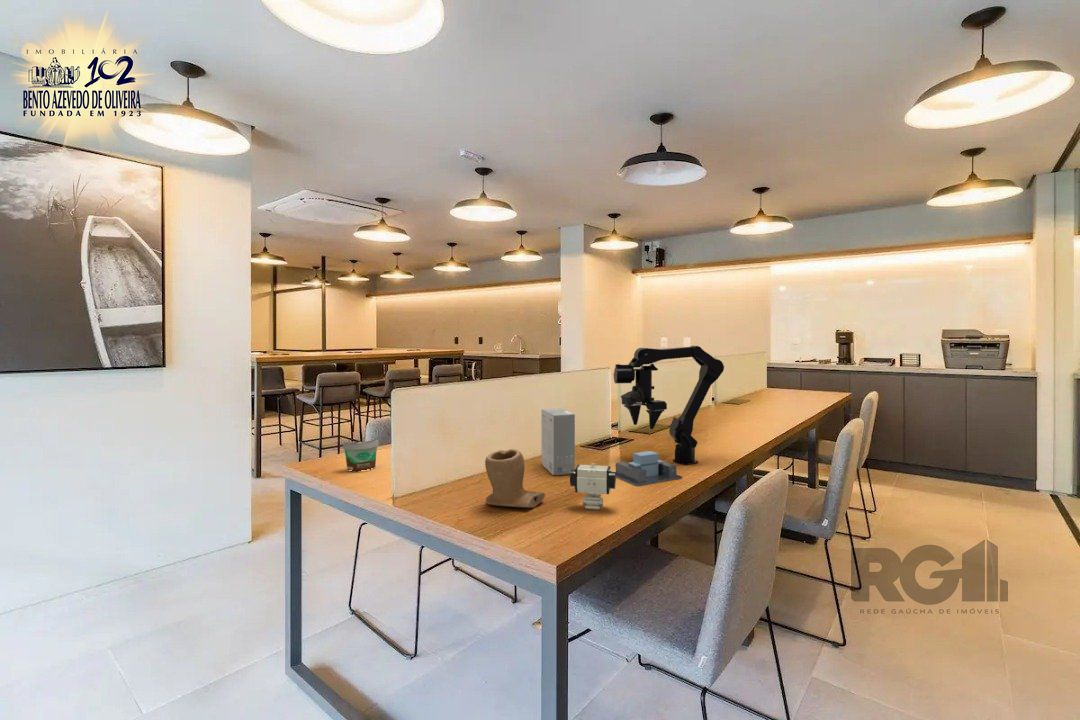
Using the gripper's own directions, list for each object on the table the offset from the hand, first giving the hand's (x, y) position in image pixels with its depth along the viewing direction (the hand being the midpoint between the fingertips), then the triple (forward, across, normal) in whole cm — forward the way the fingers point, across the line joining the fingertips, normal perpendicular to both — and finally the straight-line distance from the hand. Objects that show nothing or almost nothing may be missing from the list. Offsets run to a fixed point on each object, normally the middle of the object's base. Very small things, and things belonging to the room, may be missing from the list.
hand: (643, 426), depth 177 cm
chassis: (+13, +14, -10) cm, 22 cm away
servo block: (+12, +14, -10) cm, 21 cm away
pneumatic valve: (+13, +31, -41) cm, 53 cm away
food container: (+13, -37, -90) cm, 98 cm away
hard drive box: (+13, -7, -31) cm, 34 cm away
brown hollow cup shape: (+13, +19, -59) cm, 63 cm away
